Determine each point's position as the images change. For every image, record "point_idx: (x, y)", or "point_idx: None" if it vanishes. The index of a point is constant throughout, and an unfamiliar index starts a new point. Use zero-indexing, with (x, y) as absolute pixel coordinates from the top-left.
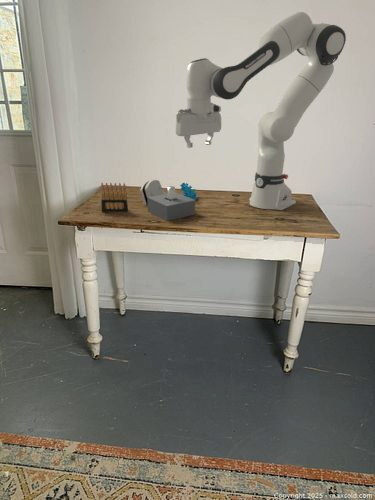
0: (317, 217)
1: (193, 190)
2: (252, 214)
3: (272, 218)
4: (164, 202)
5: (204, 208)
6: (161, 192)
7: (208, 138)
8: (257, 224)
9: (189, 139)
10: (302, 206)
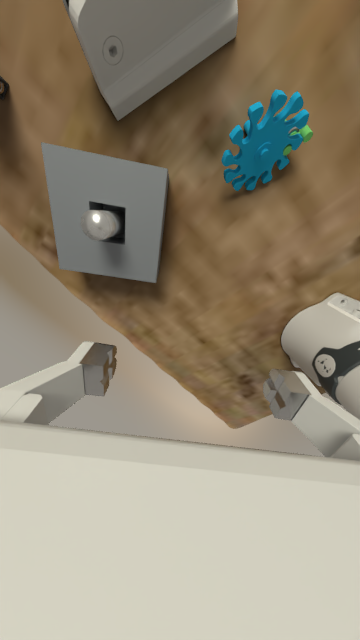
0: None
1: (292, 145)
2: (239, 345)
3: (241, 372)
4: (69, 239)
5: (208, 259)
6: (212, 5)
7: (317, 415)
8: (199, 372)
9: (48, 422)
10: None
